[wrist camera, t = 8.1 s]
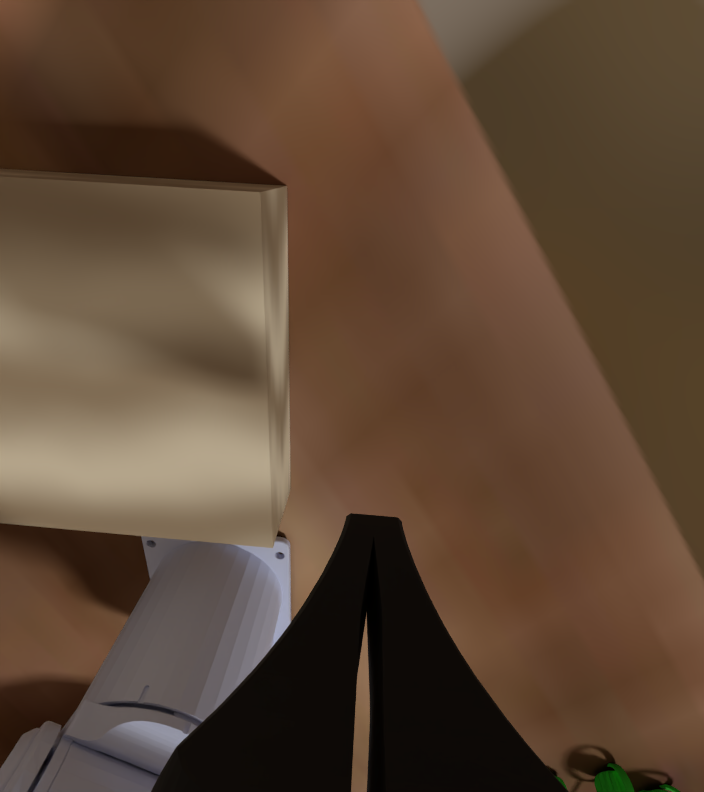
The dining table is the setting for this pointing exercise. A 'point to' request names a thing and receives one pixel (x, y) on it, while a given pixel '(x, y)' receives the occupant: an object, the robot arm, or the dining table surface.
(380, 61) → the dining table surface
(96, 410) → the board
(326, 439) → the dining table surface
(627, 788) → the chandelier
